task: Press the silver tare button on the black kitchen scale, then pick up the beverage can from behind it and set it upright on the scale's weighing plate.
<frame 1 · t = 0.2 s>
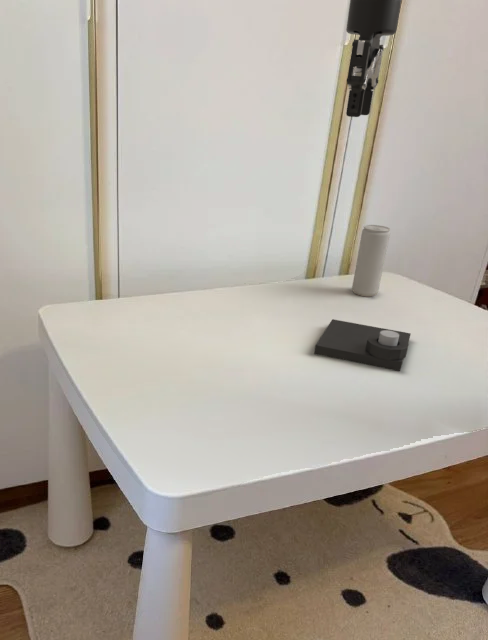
hand: (358, 115, 103), 30 cm above the table, tool pointing down, fingers open, 8 cm apart
beverage can: (364, 294, 117), on the table
scale: (362, 347, 94), on the table
tare button: (388, 338, 88), point 3 cm above the table, slide at 0.1 cm
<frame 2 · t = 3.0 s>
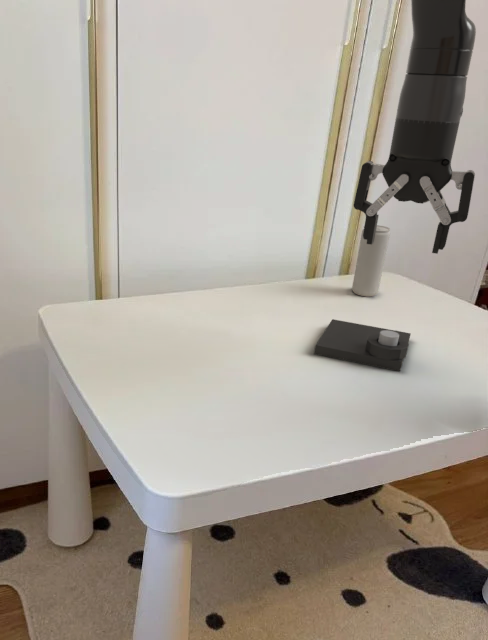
hand: (402, 247, 85), 15 cm above the table, tool pointing down, fingers open, 8 cm apart
nothing on the table moved.
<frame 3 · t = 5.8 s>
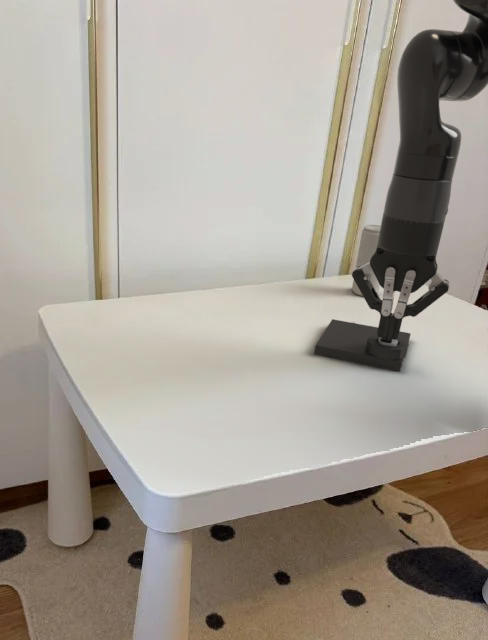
hand: (386, 340, 88), 3 cm above the table, tool pointing down, fingers closed
tare button: (387, 345, 88), point 2 cm above the table, slide at -0.8 cm, touching gripper
everything else where it was.
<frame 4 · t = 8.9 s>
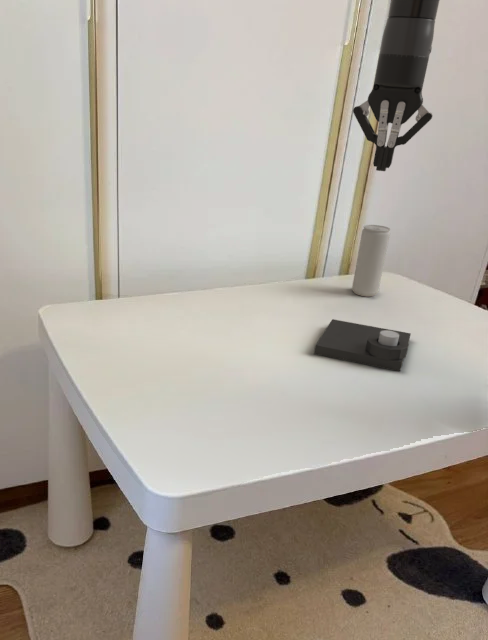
hand: (381, 170, 106), 22 cm above the table, tool pointing down, fingers closed
tare button: (388, 338, 88), point 3 cm above the table, slide at 0.1 cm
everything else where it was.
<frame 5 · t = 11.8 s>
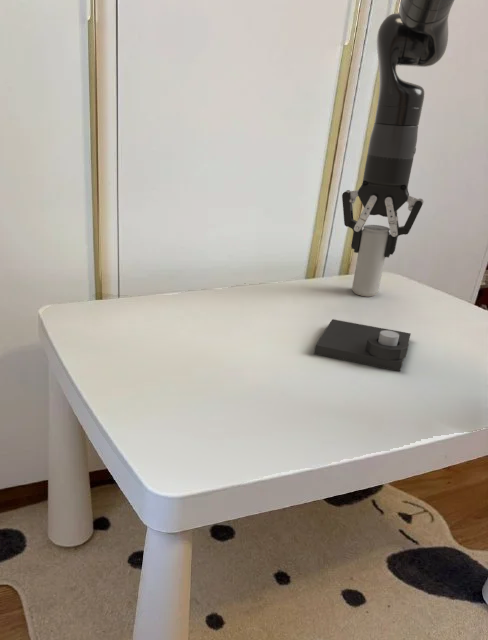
hand: (372, 253, 114), 7 cm above the table, tool pointing down, fingers closed on beverage can, 5 cm apart
beverage can: (364, 294, 117), on the table, touching gripper
everything else where it was.
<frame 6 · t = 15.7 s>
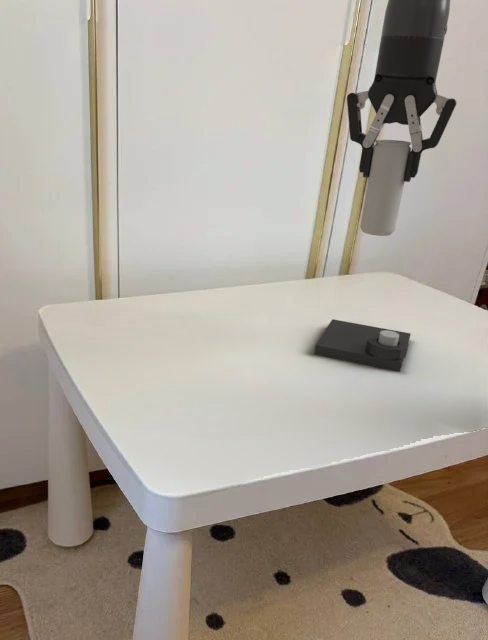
hand: (386, 178, 86), 23 cm above the table, tool pointing down, fingers closed on beverage can, 5 cm apart
beverage can: (376, 233, 90), point 16 cm above the table, touching gripper
everything else where it was.
when the fingers open (9 cm above the table, at t = 19.6 s): beverage can stays where it is, resting on scale.
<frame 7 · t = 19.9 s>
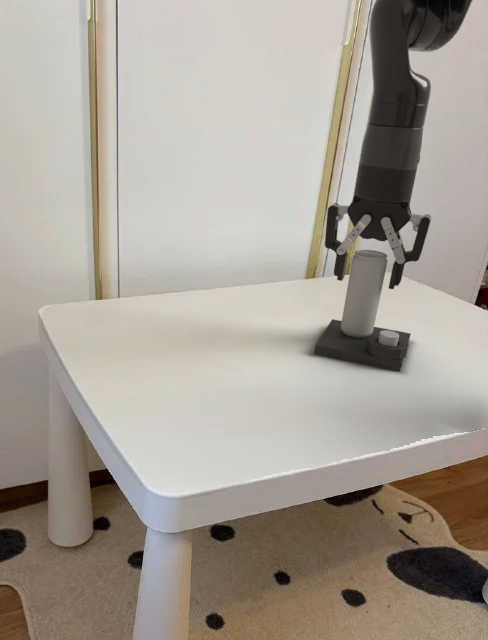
hand: (365, 283, 92), 9 cm above the table, tool pointing down, fingers open, 6 cm apart
beverage can: (356, 334, 95), point 1 cm above the table, touching scale
everything else where it was.
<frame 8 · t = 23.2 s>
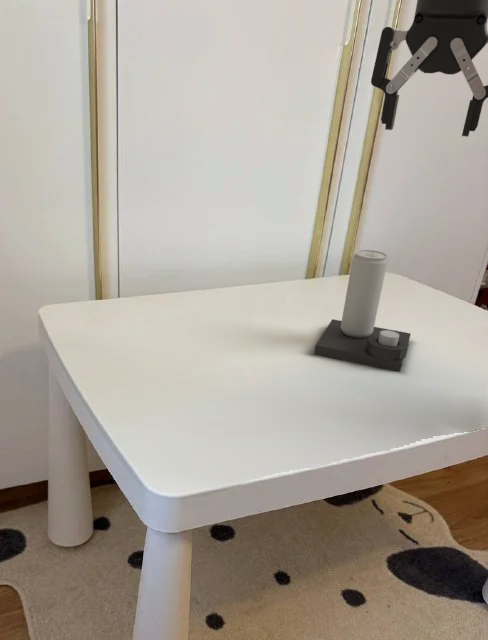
hand: (426, 132, 74), 30 cm above the table, tool pointing down, fingers open, 8 cm apart
nothing on the table moved.
at the end: tare button pushed in 0.9 cm at the most during the clip, back to where it started at the end; beverage can inside the target area on the scale (2.3 cm from its centre), point 1.2 cm above the scale's base; beverage can tilted 0° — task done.
